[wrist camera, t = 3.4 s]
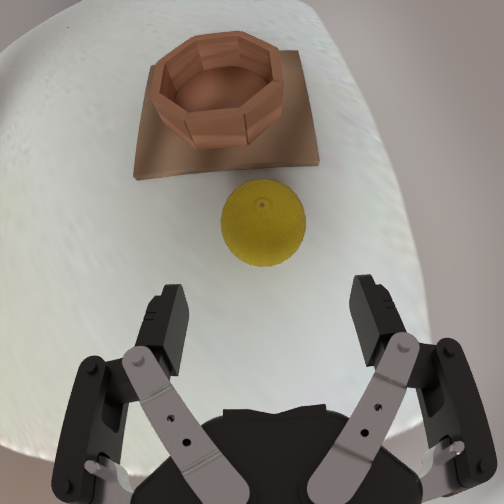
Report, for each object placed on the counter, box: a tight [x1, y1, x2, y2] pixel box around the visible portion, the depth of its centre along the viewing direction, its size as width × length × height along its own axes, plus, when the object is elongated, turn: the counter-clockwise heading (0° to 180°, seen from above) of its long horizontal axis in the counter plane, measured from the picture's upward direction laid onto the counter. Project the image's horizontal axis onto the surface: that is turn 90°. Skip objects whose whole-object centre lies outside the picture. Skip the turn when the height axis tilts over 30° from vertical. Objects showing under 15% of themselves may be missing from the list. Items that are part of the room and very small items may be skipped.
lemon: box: [221, 179, 306, 267], centre depth 19 cm, size 6×6×8 cm
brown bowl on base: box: [133, 31, 320, 180], centre depth 23 cm, size 16×14×6 cm
